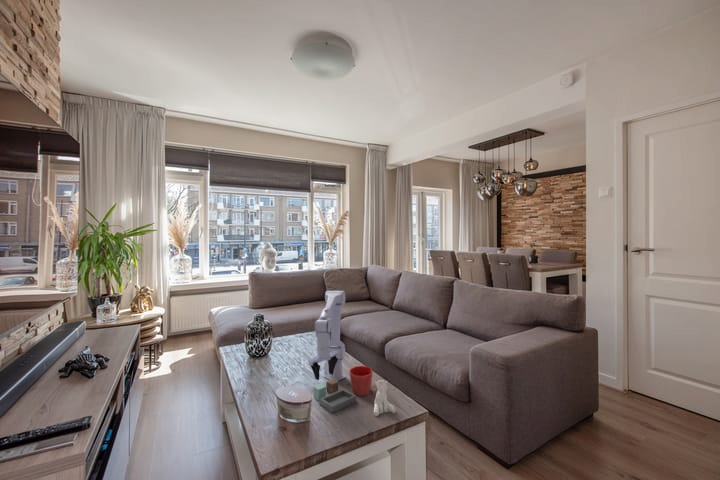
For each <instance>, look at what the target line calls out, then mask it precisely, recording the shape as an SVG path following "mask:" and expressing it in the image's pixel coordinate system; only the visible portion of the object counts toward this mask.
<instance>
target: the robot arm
mask: <svg viewBox="0 0 720 480" xmlns="http://www.w3.org/2000/svg"><path fill="white" fill-rule="evenodd" d="M324 299H325V308H323V309H322V310H321V312H320V316H319V318H318V319H317V320H315V322H314V332H315V338H316V353H317V354H316V356H314V357H313V358H311V359H308V365H309V366H310V368H311V370H312V372H313V376H314V379H315V380H316V381H319V380H320V371H321V365H320V364H319V363H322V362H324V370H323V372H324V374H323V378H326V379H327V380H328V381H329V380H331V379H335V380H337V381H338V382H339V381H340V380H343V379H346V377H347V376H346V375H345V374H343V361H344V360H345V357H346V345H345V344H344V342H343V341H341V322H342V321H341V319H342V316H341V315H342V309H343V308H344V307H345V305H346V292H345V290H326V291H325V294H324Z"/></svg>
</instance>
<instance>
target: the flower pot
mask: <svg viewBox="0 0 720 480" xmlns="http://www.w3.org/2000/svg"><path fill="white" fill-rule="evenodd" d="M349 377H350V383H351V387H352V391H353V392H352V393H353V394H354V395H356V396H366V395H368V394H369V393H370V392H371V386H372V379H373V369H372V368H371V367H370V366H365V365H357V366H354V367H352V368H351V367H350V369H349Z"/></svg>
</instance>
